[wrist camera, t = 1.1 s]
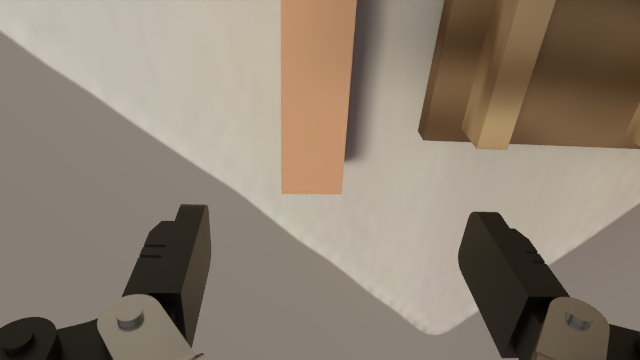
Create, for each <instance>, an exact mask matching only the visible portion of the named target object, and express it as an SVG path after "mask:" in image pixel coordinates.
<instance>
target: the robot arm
mask: <svg viewBox="0 0 640 360" xmlns="http://www.w3.org/2000/svg"><path fill="white" fill-rule="evenodd" d="M209 225H210V224H209V211H208V206H207V205H191V204H181V206H180V208H179V211H178V213H177V216H176V219H175V221H161V222H160V223H159V224H158V225H157V226H156V227H155V228H153V229H152V230H151V231H150V232H149V235H148V237H147V239H146V242H145V244H144V247H143V249H142V251H141V253H140V257H139V258H138V260H137V262H136V265H135V267H134V269H133V272H132V274H131V277H130V279H129V281H128V283H127V286H126V288H125V291H124V293H123V295H122V297H121V298H119V299H117V300H115V301H113V302H112V303H110V304H109V305H108V306H107V307H105V309H104V310H103V311H102V312H101V314H100V316H99V318H97V319H95V320H92V321H90V322H87V323H83V324H79V325H75V326H71V327H66V328H62V329H58V330H56V327H55V325H54V324H53V323H52V322H51V321H50V320H48V319H45V318H40V317H29V318H23V319H20V320H17V321H14V322H11V323H9V324H7V325H5V326H3V327H2V328H0V360H210V359H209V358H208V357H207V356H206V355H205V354H204V353H201V354H199V355H196V354H195V353H194V352H193V350H192V349H191V348H192V344H193V340H194V335H195V331H196V325H197V321H198V317H199V312H200V308H201V303H202V299H203V294H204V290H205V285H206V281H207V276H208V272H209V267H210V261H211V238H210V226H209ZM458 262H459V267H460V270H461V272H462V275H463V277H464V279H465V281H466V283H467V285H468V287H469V289H470V292H471V294H472V296H473V298H474V300H475V302H476V304H477V306H478V309H479V311H480V313H481V315H482V317H483V319H484V321H485V323H486V326H487V328H488V330H489V332H490V334H491V336H492V338H493V340H494V343H495V345H496V347H497V349H498V351H499V353H500V355H501V357H502V358H519V360H640V332H638V331H635V330H631V329H627V328H623V327H619V326H615V325H611V324H609V323H608V322H607V320H606V318H605V317H604V316H603V315H602V314H601V313H600V312H599V311H598V310H597V309H596V308H594V307H593V306H591V305H590V304H588V303H586V302H584V301H581V300H579V299H575V298H571V297H570V296H569V295H568V293H567V292H566V291H565V289H564V288H563V286H562V285H561V284H560V282H559V281H558V280H557V278H556V277H555V275H554V274H553V273H552V271H551V270H550V268H549V267H548V265H547V264H545V263H544V262H545V261H544V260H543V259H542V257H541V256H540V254H537V250H536V249H535V247H534V246H533V245H532V243H531V242H530V240H529V239H528V238H526V237H525V236H524V235H522V234H521V233H520V232H518V231H517V230H516V229H510V228H509V227H508V225H507V224H506V222H505V221H504V219H503V218H502V216H501V215H500V214H499V213H498V212H472V213H471V214H470V216H469V218H468V222H467V225H466V228H465V232H464V235H463V238H462V242H461V245H460V248H459V253H458Z"/></svg>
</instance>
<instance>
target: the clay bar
mask: <svg viewBox="0 0 640 360" xmlns="http://www.w3.org/2000/svg"><path fill="white" fill-rule="evenodd" d="M356 5H357V0H281V169H282V194H342V181H343V169H344V156H345V144H346V131H347V118H348V106H349V93H350V81H351V68H352V55H353V43H354V30H355V18H356Z"/></svg>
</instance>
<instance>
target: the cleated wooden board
mask: <svg viewBox="0 0 640 360" xmlns="http://www.w3.org/2000/svg"><path fill="white" fill-rule="evenodd" d="M418 132H419V134H420V135H421V137H422V139H423V140H429V141H455V142H472V143H473V145H474V146H475V147H476V149H494V150H507V148H508V145H509V144H530V145H555V146H580V147H605V148H630V149H640V0H445V1H444V6H443V11H442V16H441V21H440V26H439V31H438V36H437V40H436V45H435V50H434V55H433V60H432V65H431V70H430V75H429V80H428V85H427V89H426V94H425V99H424V104H423V109H422V114H421V119H420V124H419V129H418Z"/></svg>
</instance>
